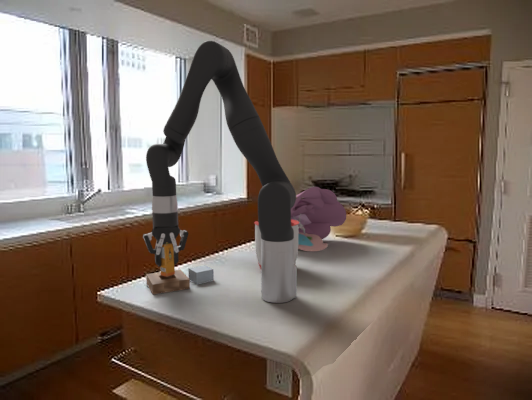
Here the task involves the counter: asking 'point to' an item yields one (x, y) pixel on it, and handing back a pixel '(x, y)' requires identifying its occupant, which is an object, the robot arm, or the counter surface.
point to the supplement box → (167, 260)
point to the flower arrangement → (316, 217)
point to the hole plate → (167, 282)
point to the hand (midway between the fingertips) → (167, 264)
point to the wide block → (201, 274)
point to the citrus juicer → (258, 240)
